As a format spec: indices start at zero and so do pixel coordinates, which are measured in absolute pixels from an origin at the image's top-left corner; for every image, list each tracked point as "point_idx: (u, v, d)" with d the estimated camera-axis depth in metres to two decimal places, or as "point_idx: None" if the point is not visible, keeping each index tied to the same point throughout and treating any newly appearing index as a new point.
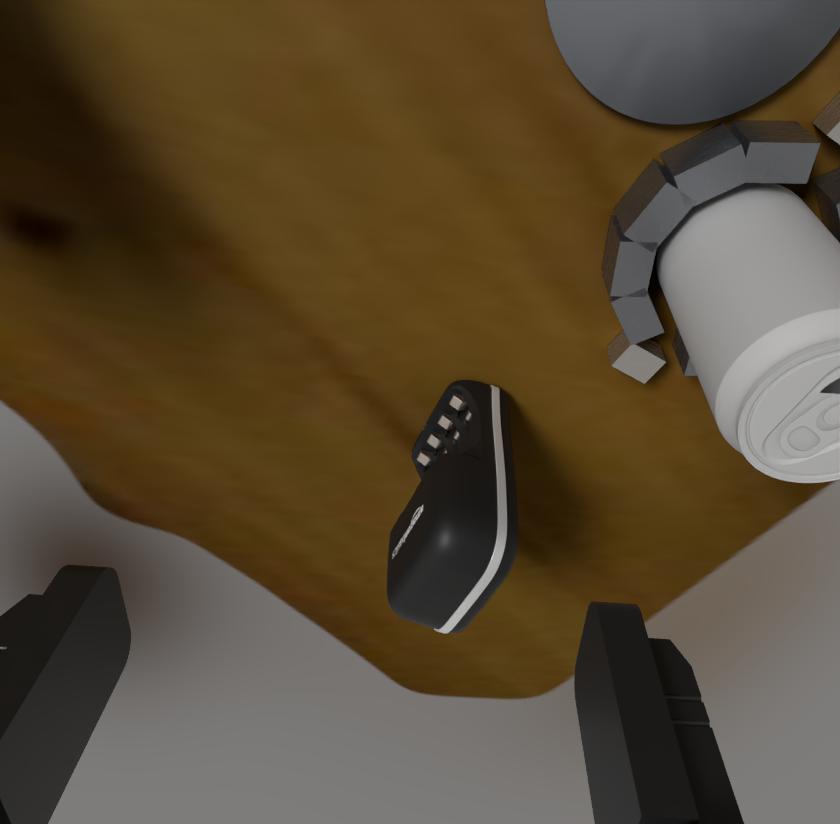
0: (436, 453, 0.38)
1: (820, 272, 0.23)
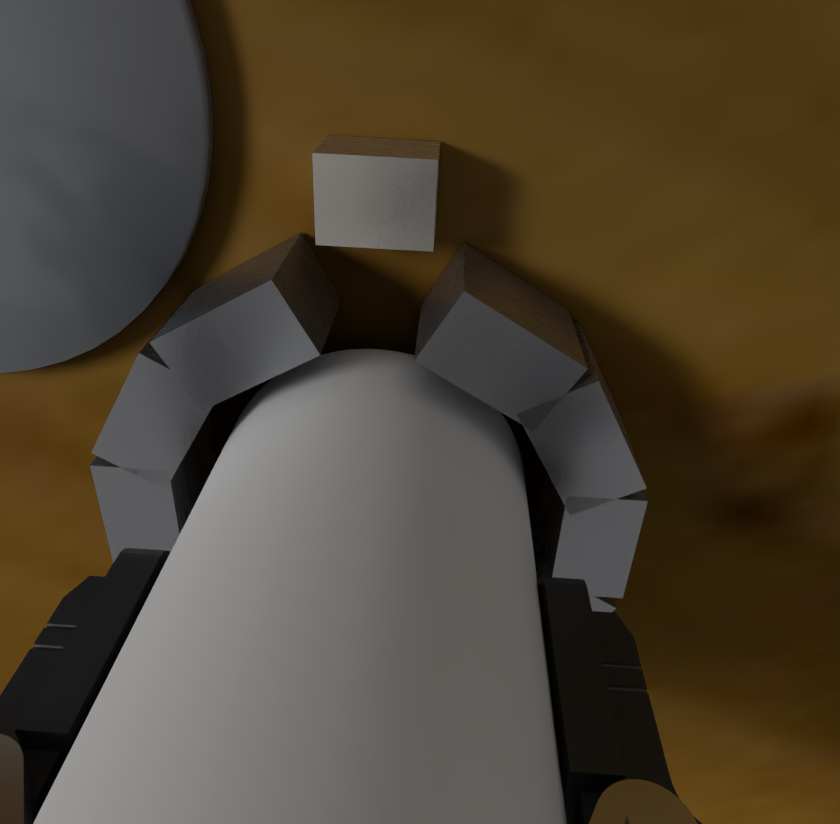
0: None
1: (137, 699, 0.08)
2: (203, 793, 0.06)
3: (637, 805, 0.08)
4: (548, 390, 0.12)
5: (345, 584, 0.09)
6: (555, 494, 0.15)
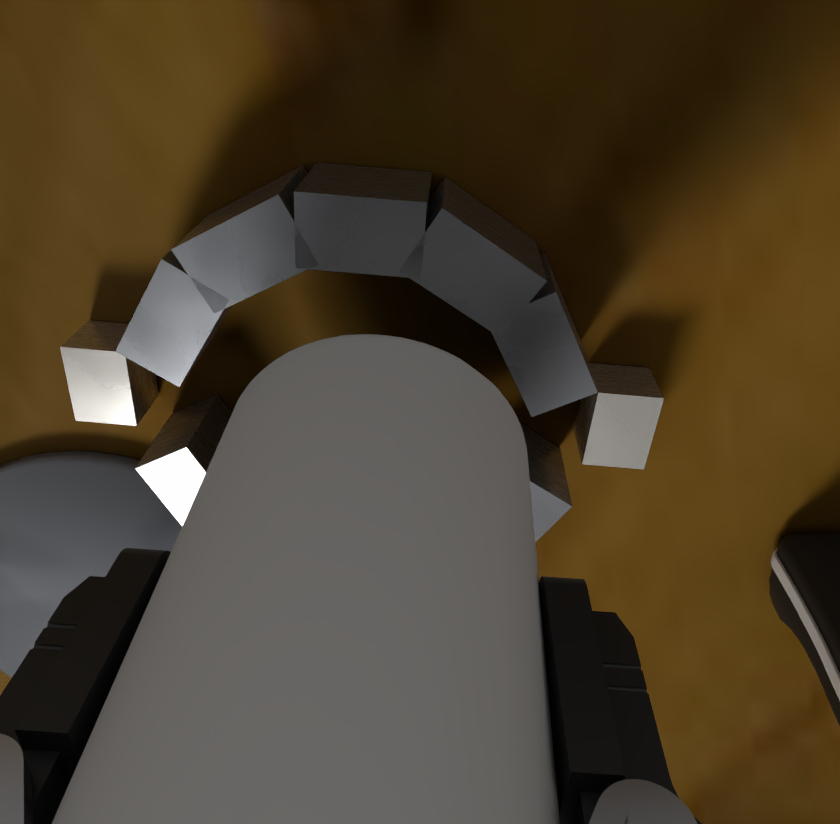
0: None
1: (135, 735, 0.08)
2: None
3: (637, 805, 0.08)
4: (187, 289, 0.15)
5: (339, 613, 0.09)
6: None
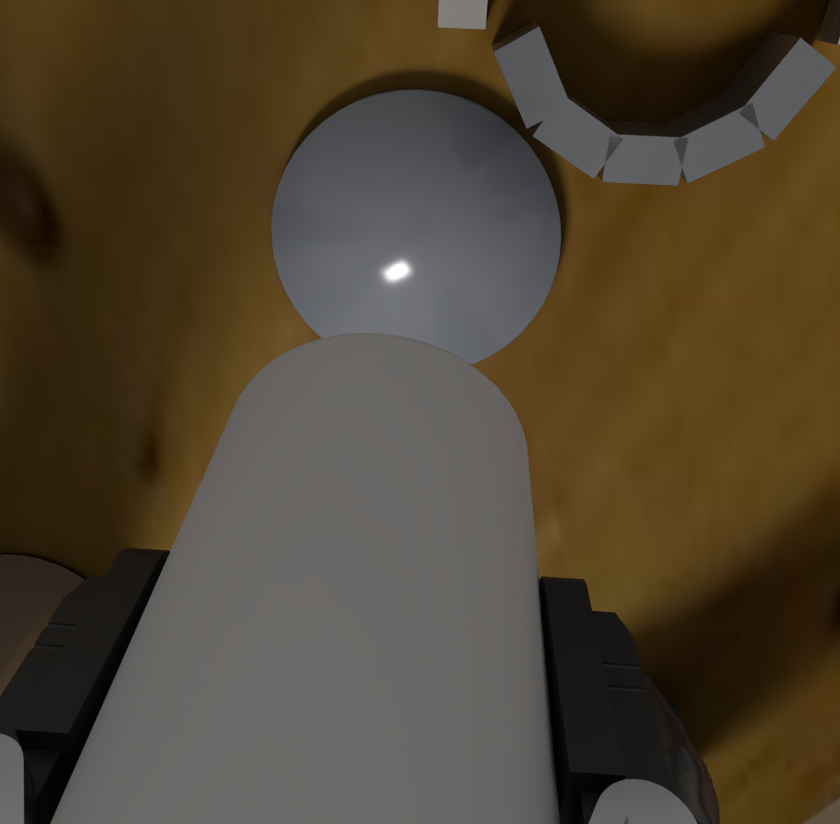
0: None
1: (135, 734, 0.08)
2: None
3: (637, 805, 0.08)
4: None
5: (339, 612, 0.09)
6: None
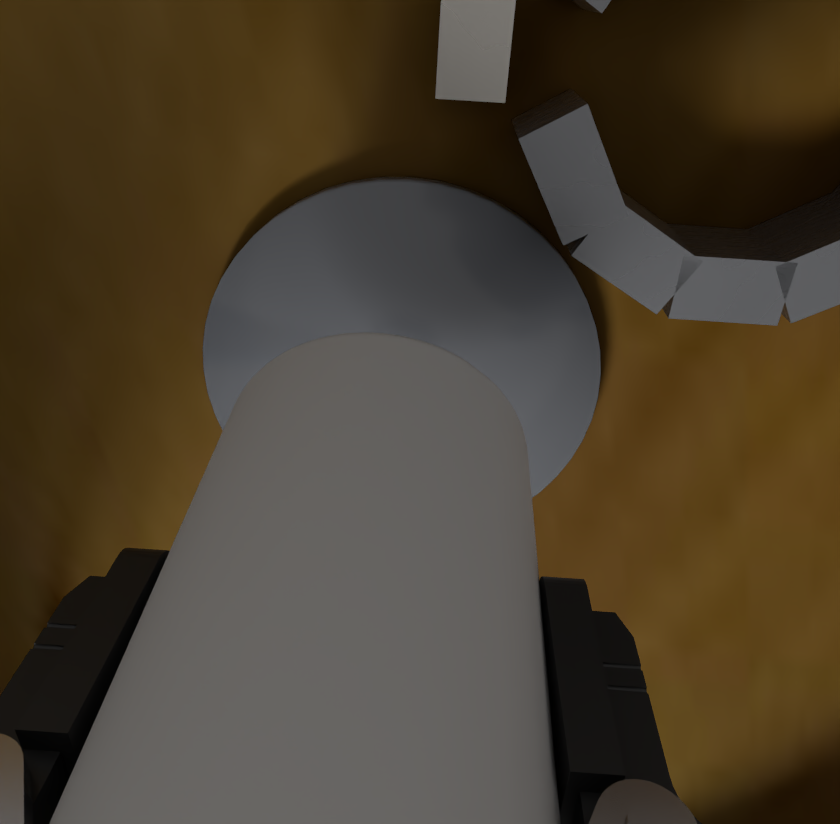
0: None
1: (133, 735, 0.08)
2: None
3: (637, 805, 0.08)
4: None
5: (340, 612, 0.09)
6: None
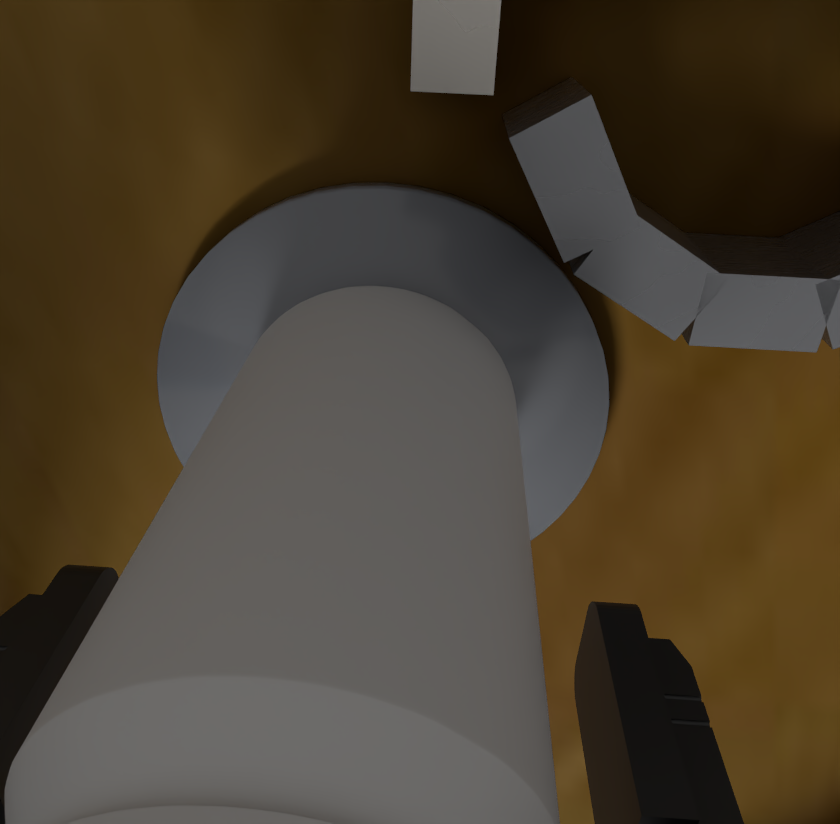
0: None
1: (163, 549, 0.09)
2: (220, 602, 0.08)
3: None
4: None
5: (344, 459, 0.10)
6: None
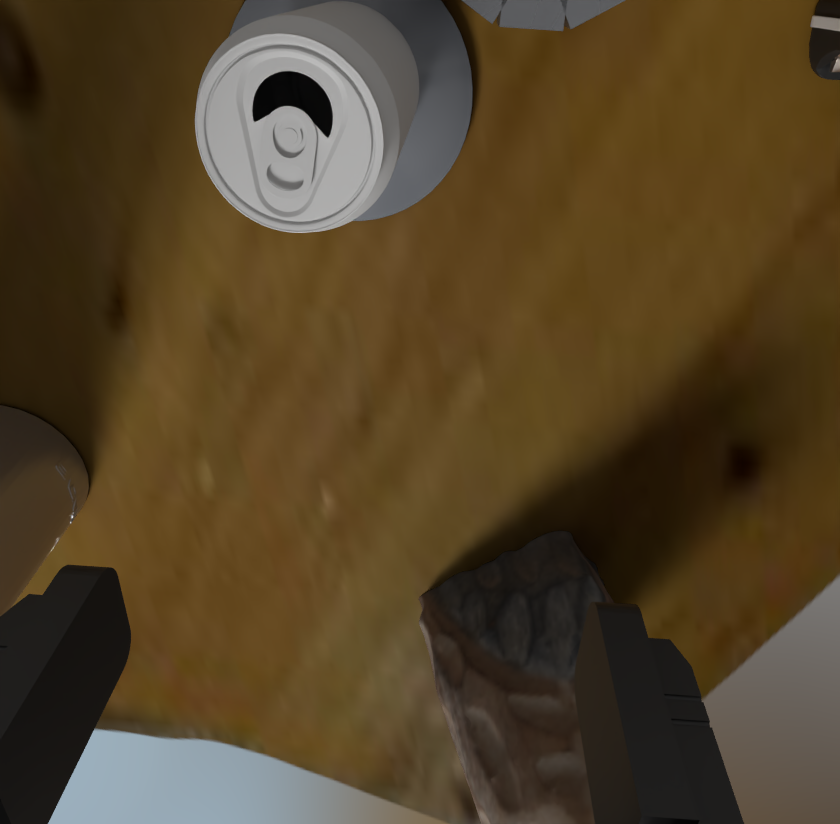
0: None
1: None
2: (278, 14, 0.22)
3: None
4: None
5: (323, 10, 0.24)
6: None
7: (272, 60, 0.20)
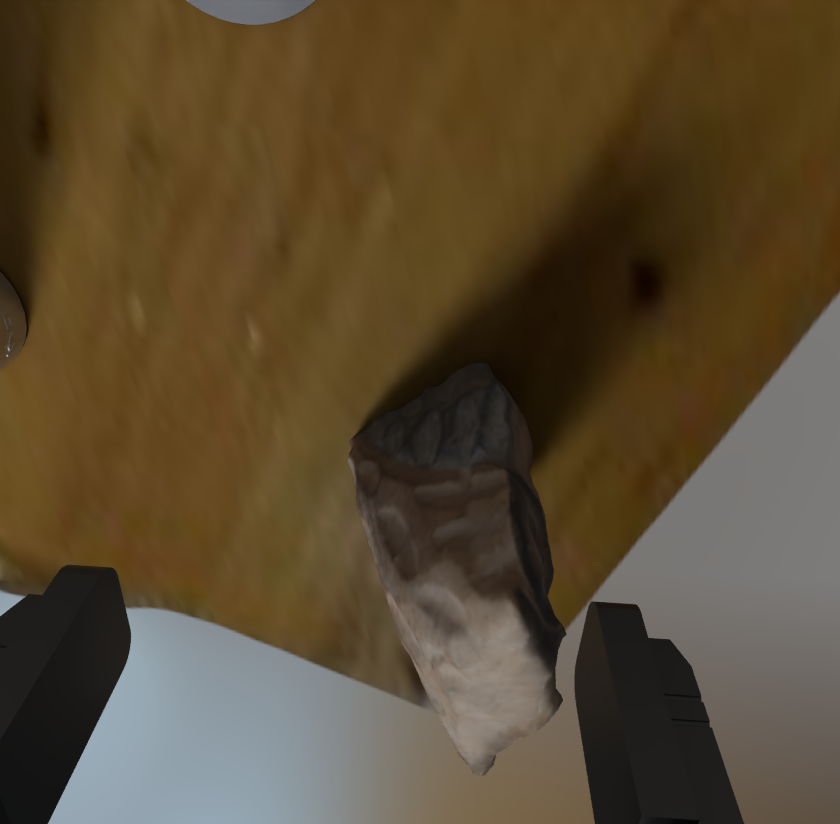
0: None
1: None
2: None
3: None
4: None
5: None
6: None
7: None
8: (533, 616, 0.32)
